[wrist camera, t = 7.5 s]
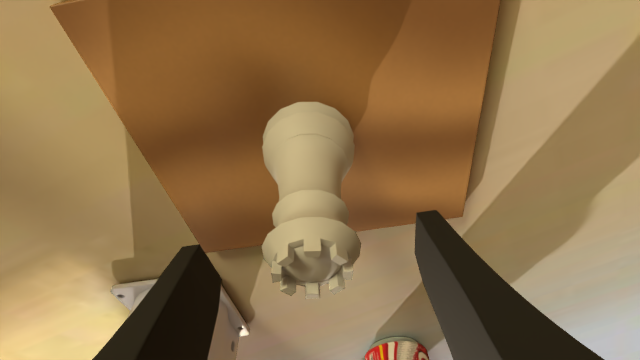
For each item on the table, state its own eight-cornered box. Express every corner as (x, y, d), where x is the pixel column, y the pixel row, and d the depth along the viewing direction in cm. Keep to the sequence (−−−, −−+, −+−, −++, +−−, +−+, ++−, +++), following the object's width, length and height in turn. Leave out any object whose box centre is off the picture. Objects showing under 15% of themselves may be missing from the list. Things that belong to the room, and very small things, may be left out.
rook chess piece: (298, 185, 18) (296, 326, 12) (244, 128, 15) (205, 268, 9) (368, 147, 16) (408, 284, 10) (321, 77, 14) (337, 202, 8)
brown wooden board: (459, 210, 21) (462, 217, 20) (206, 246, 22) (204, 253, 21) (508, -90, 11) (517, -90, 11) (57, 3, 12) (48, 6, 12)
